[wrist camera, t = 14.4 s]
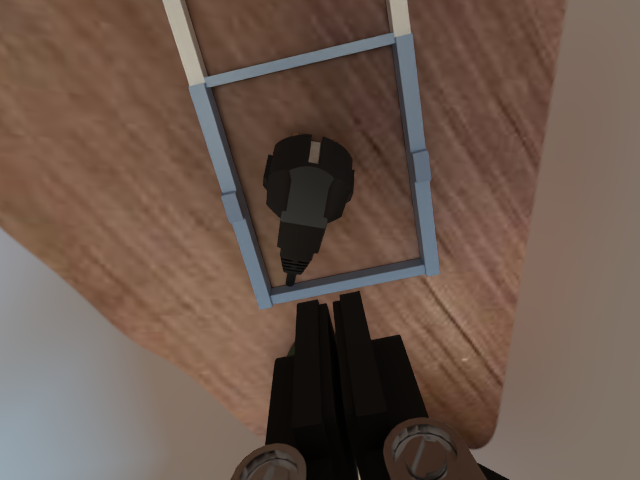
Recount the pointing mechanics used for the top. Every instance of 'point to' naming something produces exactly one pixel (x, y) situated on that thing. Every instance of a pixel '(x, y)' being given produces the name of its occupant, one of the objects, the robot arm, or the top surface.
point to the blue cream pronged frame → (230, 182)
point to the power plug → (306, 195)
